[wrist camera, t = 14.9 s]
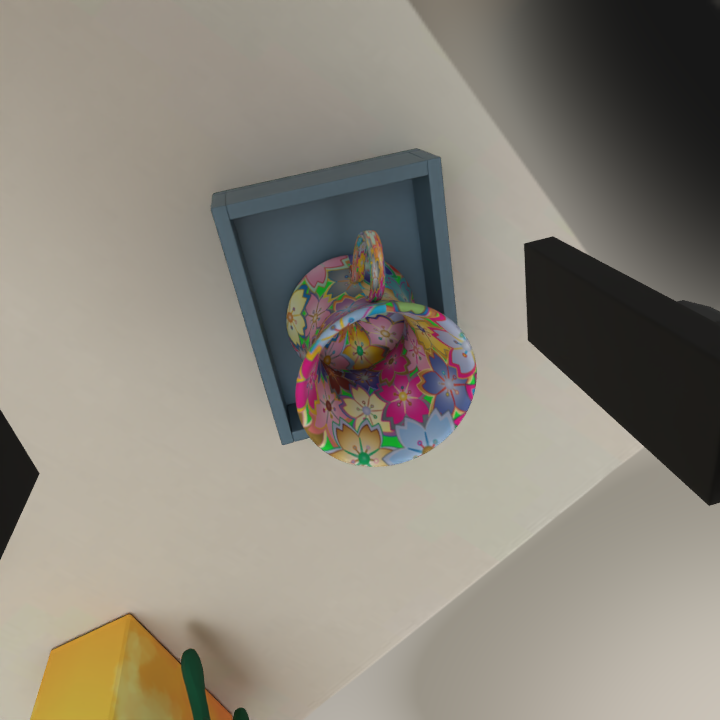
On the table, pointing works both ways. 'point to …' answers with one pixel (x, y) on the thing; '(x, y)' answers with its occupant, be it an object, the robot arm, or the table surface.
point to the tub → (329, 249)
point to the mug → (375, 361)
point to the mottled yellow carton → (125, 680)
